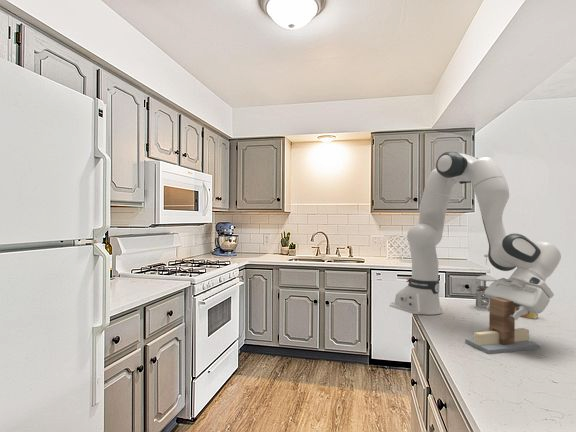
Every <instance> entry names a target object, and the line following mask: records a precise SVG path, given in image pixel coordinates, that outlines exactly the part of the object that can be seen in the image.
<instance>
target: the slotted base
mask: <svg viewBox="0 0 576 432" xmlns="http://www.w3.org/2000/svg"><path fill="white" fill-rule="evenodd" d="M529 332H530V330H529V329H528V328H525V327H521V328H520V327H519V328H515V337H514V344H510V345H501V344H500V331H489V330H488V331H487V330H486V331H476V332H473V333H474V334H473V335H474V336H473V337H472V338H465V339H464V343H465V344H467V345H469V346H471V347H473V348H476V349H478V350H479V351H482V352H483V353H486V354H488V355H493V354H502V353H511V352H518V351H528V350H537V349H541V345H540V344H539V343H537V342H533V341H531V340H530V339H529V338H530V336H529V334H530V333H529Z"/></svg>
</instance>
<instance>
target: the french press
mask: <svg viewBox="0 0 576 432" xmlns="http://www.w3.org/2000/svg"><path fill="white" fill-rule="evenodd" d="M483 257H484V258H485V264H487V262H488V260H487V258H488V253H487V254H484V256H483ZM476 280H478V281H483V282H494V281H496V280H497V278H496V277H493V276H491V275H488V274H483V275H479V276H477V277H476ZM476 280H475V281H472V282H471V284H470V286H469V288H470V289H472V287H473V286H474V284H476V285H478V284H479V282H478V281H476ZM488 287H489V285H488V286H487V285H478V286H477V289H476V290H475V291H476V292H475V293H476V295H474V294H473V291H472V290H469V293H470V295H472V296H473V297H474V298H475V305H474V306H473V308H474V309H475V308H476V309H475V310H477V309H478V311H481V310H482V312H489V313H490V311H488V310H487V308H486V307H487V306H488V305H489V299H488V298H487V297H486V296H485V294H484V291H485V290H486V289H487V288H488Z"/></svg>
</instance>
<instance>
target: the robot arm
mask: <svg viewBox="0 0 576 432" xmlns="http://www.w3.org/2000/svg"><path fill="white" fill-rule="evenodd" d="M458 183H459V184H461V185H464V184H470V183H471V185H472V188H473V192H474V194H475V198H476V200H477V203H478V206H479V207H478V208H479V211H480V214H481V219H482V223H483V227H484V230H485V234H486V238H487V243H488V251H487V252H488V253H487V254H488V257H487V258H488V261H489V263H490V264H491V266H493V267H494V268H495V269H497V270H500V271H503V272H509V271H513V270H514V269H515V270H514V271H513V273H512V274H511V275H510V277H508V278H504V277H502V278H498V279H497V278H496V281H492V283H490V284H489V285H488V288H487V289H486V290H485V291H484V294H485V295H484V296H486V297H487V298H488V299H489V305H488V306H487V307H486V308H487V310H488V311H490V298H493V297H500V298H504V299H508V300H511V301H513V303H515V308H519V310H517V311H516V312H512V313H511V314H510V317H511V318H512V319H515V321H517V320H518V319H519V318H520V317H522V315H524V314H526V313H527V312H528V311H529V312H532V313H535V314H538V315H539V314H541V313H543V312H544V311H545V310H546V308H547V307H548V305H549V303H550V301H551V300H550V299H552V298H553V297H554V295H555V294H554V292H553V291H552V289H551V288H550V287H549V285H548V284H547V283H546V280H547V279H548V278H549V277H550V276H551V275H552V274H553V273H554V271H556V269H557V267H558V265H559V263H561V259H562V258H561V257H562V255H561V251H560V250H559V248H557V246H555V245H554V244H553V243H551V242H548V241H539V240H534V239H531V238H528V237H526V236H525V235H523V234H521V233H509V234H506V230H505V227H504V223H503V214H504V211H505V208H506V205H507V204H508V201H509V198H510V189H509V185H508V182H507V180H506V177H505V174H504V173H503V171H502V170H501V168H500V166H499V164H498V163H497V161H496V160H495V159H494V158H492V157H490V156H483V157H479V158H478V157H475V156H473V155H469V154H467V153H461V152H457V151H447V152H444V153H441V154H440V155H439V156H438V158H437V159H436V163H435V168H434V169H433V170H431V172H430V173H429V176H428V178H427V180H426V183H425V186H424V190H423V193H422V196H421V200H420V203H419V207H418V208H419V219H418V223H417V224H415V225H412V226H411V228H410V229H409V230H408V232H407V236H406V238H407V242H408V243H409V251H410V257H411V258H410V259H411V277H410V278H408V279H407V278H406V283H408V284H407V285H406V286H405V287H403V288H402V289H400V290H398V292H397V293H396V294H395V297H394V301H392V302H390V303H389V307H391V308H393V309H396V310H400V311H403V312H406V313H409V314H412V315H430V316H431V315H439V314H442V313H443V310H442V307H441V302H440V294H439V292H440V280H439V260H438V254H437V248H436V246H437V245H439V243H440V242H441V240H442V238H443V233H444V227H445V222H446V221H445V220H446V214H447V209H448V205H449V203H450V198H451V195H452V192H453V188H454V186H455V185H456V184H458ZM488 311H487V312H488Z"/></svg>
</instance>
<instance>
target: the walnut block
mask: <svg viewBox="0 0 576 432" xmlns="http://www.w3.org/2000/svg"><path fill="white" fill-rule="evenodd" d="M512 312H515V303H513V301H511V300H508V299H504V298H500V297H493V298H490V312H489V315H488V316H489V317H488V318H489V323H488V324H489V325H488V331H500V344H501V345H510V344H514V337H515V329H516V327H515V326H516V323H515V322H516V320H515V319H512V318H511V317H510V314H511V313H512Z"/></svg>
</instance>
